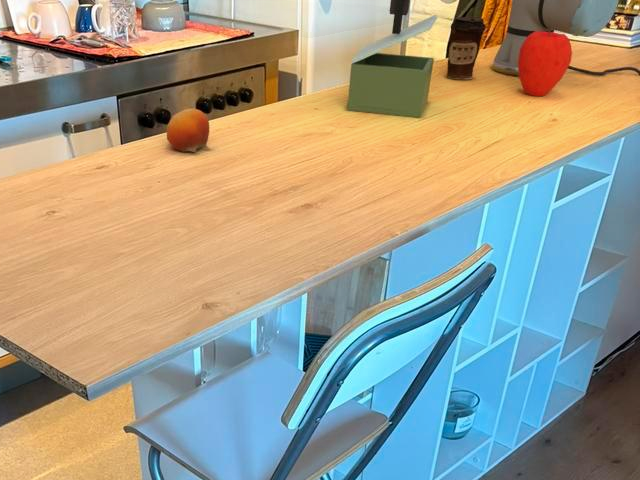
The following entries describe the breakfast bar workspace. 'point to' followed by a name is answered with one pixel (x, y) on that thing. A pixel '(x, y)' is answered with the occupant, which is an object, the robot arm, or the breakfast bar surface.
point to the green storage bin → (390, 84)
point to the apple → (543, 61)
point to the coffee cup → (464, 46)
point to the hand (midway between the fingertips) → (396, 32)
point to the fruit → (188, 130)
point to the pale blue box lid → (395, 39)
